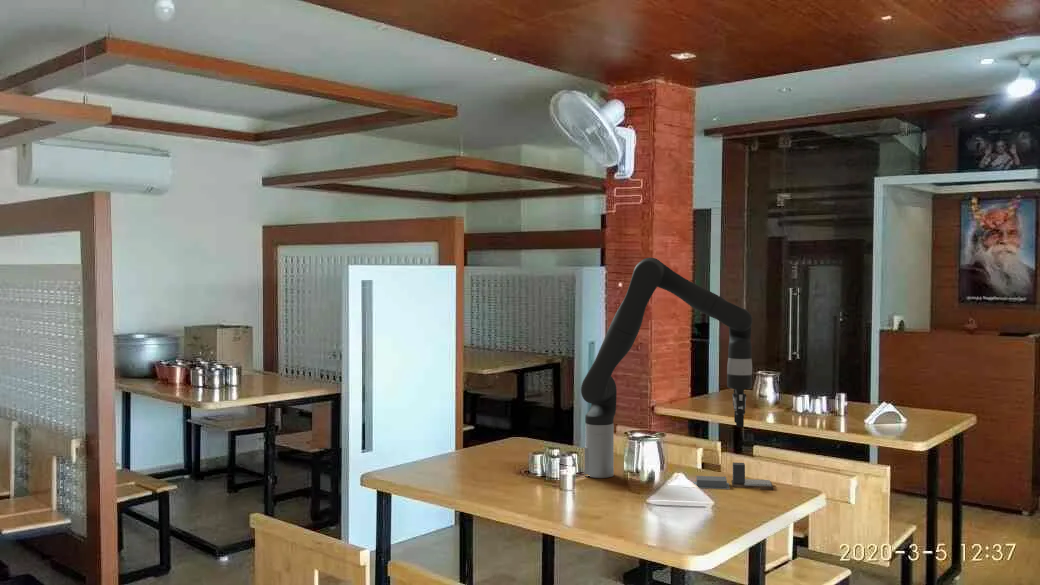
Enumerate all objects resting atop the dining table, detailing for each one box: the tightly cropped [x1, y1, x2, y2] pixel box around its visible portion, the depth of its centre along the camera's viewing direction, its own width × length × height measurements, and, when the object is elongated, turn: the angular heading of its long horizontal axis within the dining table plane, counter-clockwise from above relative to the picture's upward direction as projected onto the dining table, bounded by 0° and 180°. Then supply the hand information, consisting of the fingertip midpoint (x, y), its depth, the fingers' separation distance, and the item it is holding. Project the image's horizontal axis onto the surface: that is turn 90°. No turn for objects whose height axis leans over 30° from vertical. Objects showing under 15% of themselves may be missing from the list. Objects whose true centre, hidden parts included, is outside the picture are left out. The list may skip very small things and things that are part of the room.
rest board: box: [731, 479, 774, 491], centre depth 276 cm, size 12×7×1 cm, turn 80°
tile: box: [695, 475, 728, 488], centre depth 276 cm, size 2×6×9 cm
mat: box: [692, 481, 731, 490], centre depth 276 cm, size 14×8×1 cm, turn 80°
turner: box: [732, 461, 772, 486], centre depth 276 cm, size 6×11×6 cm, turn 80°
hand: (738, 424), depth 276 cm, fingers open, 8 cm apart
